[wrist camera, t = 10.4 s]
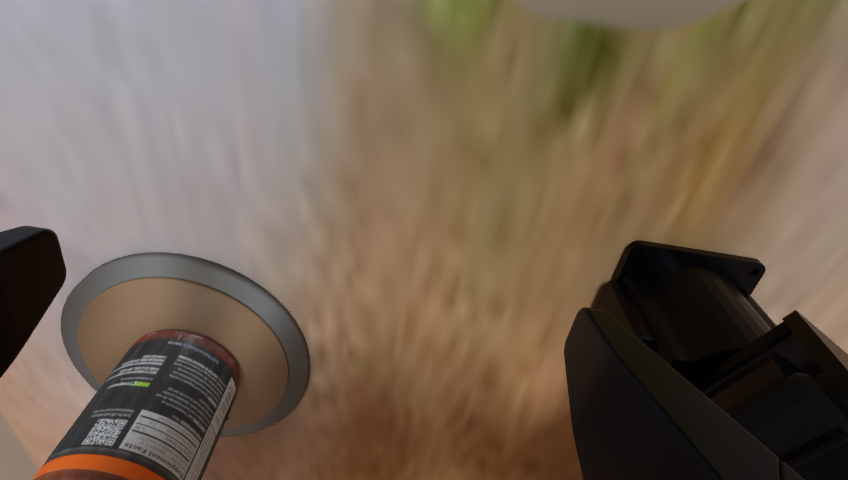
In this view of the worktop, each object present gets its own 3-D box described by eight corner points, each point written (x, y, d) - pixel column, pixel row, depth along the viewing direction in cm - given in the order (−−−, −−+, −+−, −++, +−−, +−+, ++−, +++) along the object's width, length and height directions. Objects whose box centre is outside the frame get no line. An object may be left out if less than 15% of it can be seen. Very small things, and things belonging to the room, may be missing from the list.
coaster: (315, 274, 24) (311, 285, 24) (305, 440, 31) (302, 452, 30) (42, 233, 24) (28, 243, 23) (92, 413, 30) (83, 425, 30)
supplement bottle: (185, 414, 29) (58, 655, 19) (107, 347, 26) (-86, 586, 17) (267, 382, 27) (173, 626, 18) (193, 306, 25) (35, 545, 15)
